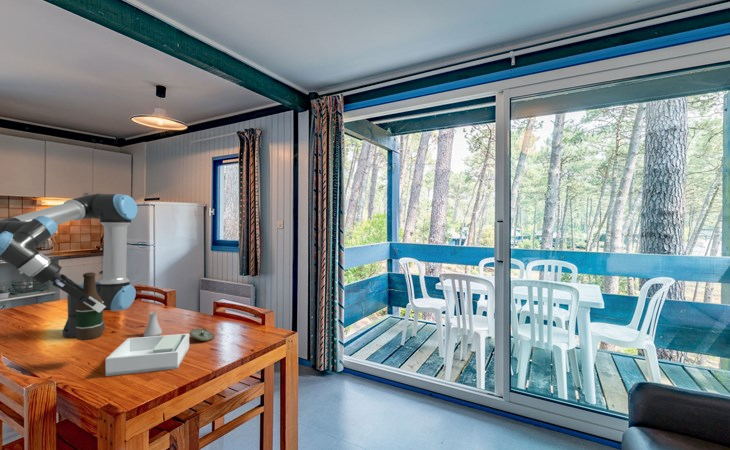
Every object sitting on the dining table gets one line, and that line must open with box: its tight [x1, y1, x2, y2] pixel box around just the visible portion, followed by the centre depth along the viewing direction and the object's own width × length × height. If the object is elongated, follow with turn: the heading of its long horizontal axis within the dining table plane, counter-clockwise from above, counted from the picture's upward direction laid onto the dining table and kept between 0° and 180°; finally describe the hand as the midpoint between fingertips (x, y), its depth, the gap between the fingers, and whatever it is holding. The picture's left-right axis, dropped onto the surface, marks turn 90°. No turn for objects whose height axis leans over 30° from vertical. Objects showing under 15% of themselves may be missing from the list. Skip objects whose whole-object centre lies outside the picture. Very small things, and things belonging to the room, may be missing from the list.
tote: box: [105, 333, 190, 377], centre depth 127 cm, size 20×22×6 cm
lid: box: [189, 327, 215, 342], centre depth 149 cm, size 11×10×5 cm
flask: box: [142, 311, 163, 337], centre depth 154 cm, size 7×7×10 cm
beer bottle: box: [76, 271, 104, 342], centre depth 123 cm, size 8×8×24 cm
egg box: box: [153, 334, 182, 353], centre depth 128 cm, size 14×6×6 cm, turn 17°
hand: (101, 307), depth 126 cm, fingers closed on beer bottle, 7 cm apart
